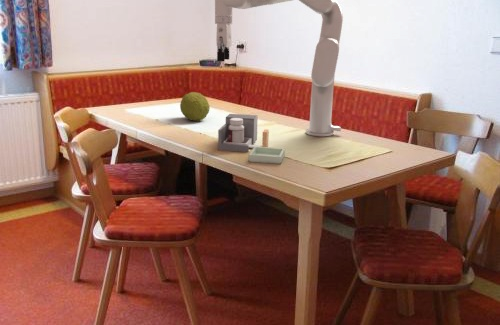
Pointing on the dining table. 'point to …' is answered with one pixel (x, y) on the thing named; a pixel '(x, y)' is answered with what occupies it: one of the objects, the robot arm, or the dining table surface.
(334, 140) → the dining table surface
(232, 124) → the pill bottle
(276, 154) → the tray
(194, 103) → the fruit
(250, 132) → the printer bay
